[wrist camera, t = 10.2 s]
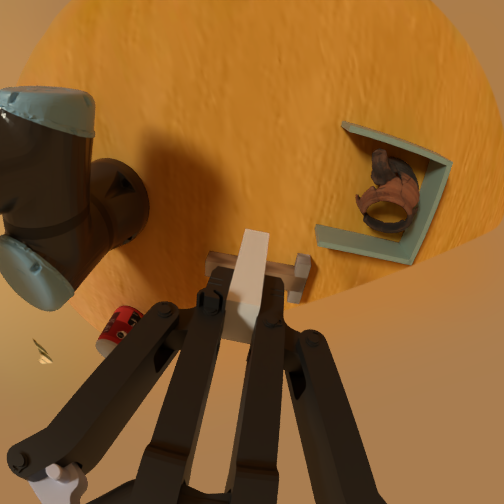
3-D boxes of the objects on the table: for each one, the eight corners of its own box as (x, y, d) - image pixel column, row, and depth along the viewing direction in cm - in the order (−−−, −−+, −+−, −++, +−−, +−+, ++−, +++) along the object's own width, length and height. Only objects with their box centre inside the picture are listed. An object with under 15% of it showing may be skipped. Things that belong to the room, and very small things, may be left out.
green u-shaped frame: (314, 228, 42) (317, 246, 38) (342, 120, 33) (350, 125, 29) (401, 247, 42) (411, 265, 38) (436, 152, 33) (452, 162, 29)
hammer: (208, 276, 50) (204, 287, 47) (210, 237, 45) (206, 247, 43) (298, 292, 49) (299, 303, 47) (310, 254, 45) (311, 265, 42)
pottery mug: (424, 192, 37) (425, 234, 33) (370, 200, 43) (364, 240, 39) (402, 127, 30) (406, 166, 26) (340, 142, 36) (331, 181, 32)
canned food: (150, 331, 60) (133, 369, 51) (121, 325, 61) (102, 360, 52) (144, 308, 56) (123, 346, 47) (113, 301, 57) (90, 337, 48)
